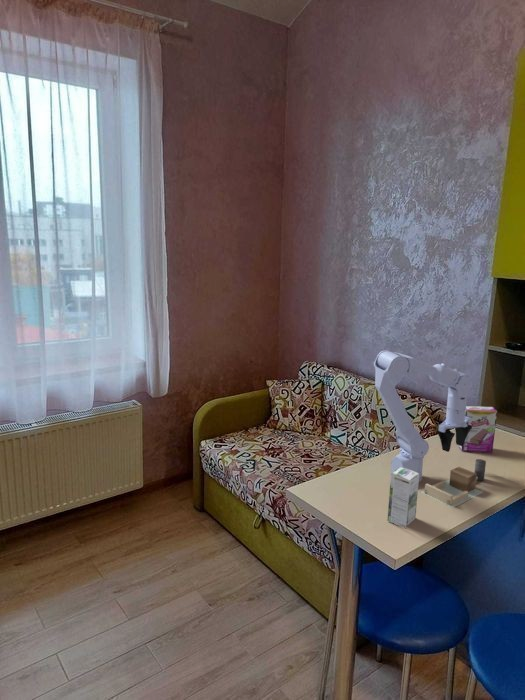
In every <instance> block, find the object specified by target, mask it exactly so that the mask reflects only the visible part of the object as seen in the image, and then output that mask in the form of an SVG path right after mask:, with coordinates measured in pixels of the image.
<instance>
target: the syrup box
mask: <svg viewBox="0 0 525 700" xmlns="http://www.w3.org/2000/svg"><path fill="white" fill-rule="evenodd" d="M419 483H420V482H419V473H417V472H414V471H412V470H409V469H406V468H401V467H400V468H399V469H398V470H396V471H395V472H394V473H392V474H391V473H390V482H389V495H388V508H387V522H388V521H389V522H388V523H391V524H393V523H394V525H396V526H399V527H402V528H404V529H406V527H408V526H409V525H410V524H411V523H412V522H413V521H414V520H415V519H416V513H417V504H418V503H417V502H418V493H419Z"/></svg>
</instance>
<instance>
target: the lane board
mask: <svg viewBox="0 0 525 700" xmlns="http://www.w3.org/2000/svg"><path fill="white" fill-rule="evenodd" d="M449 483H450V478H449V479H447V480H441V481H439V482H437V483H435V484H433V485H431V484H430V483H425V484H424V490H423V491H421V492H420V493H421V494H422V495H425V496H427V497H428V498H430V499H433V500H435V501H437V502H438V503H441V504H442V505H445V506H447V507H449V508H451V509H454V508H455V507H457V506H460V505H461V504H463V503H466V502H467V501H468V500H471V499H474V498H475V497H477V496H478V495H482V494H483V493H484V491H482V490H480V489H477V488H475V489H473V490H471V491H469V492H467V491H462V490H459V489H457V488H455V487H453V486H450V485H449Z"/></svg>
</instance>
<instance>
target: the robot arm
mask: <svg viewBox="0 0 525 700" xmlns="http://www.w3.org/2000/svg"><path fill="white" fill-rule="evenodd" d="M373 366H374V370H375V371H374V372H375V376H374V377H375V379H374V380H375V381H374V385H375V389H376V392H378V395H379V397H380V399H381V401H382V402H383V405H384V407H385V408H386V409H385V410H386V412H387V413H388V414H389V415H388V416H389V417H390V419H391V421H392V423H393V425H394V427H395V429H396V430H395V432H394V434H395V435H396V444H397V446H399V453H398V454H397V455H395V456H393V457H392V459H391V466H390V475H391V474H392V473H394V472H395V471H396V470H398V469H399V468H400V467H401V468H406V469H409V470H412V471H414V472H417V473H419V483H420V482H421V481H422V479H423V467H424V466H423V465H424V458H425V457H426V455H427V454H428V452H429V450H430V445H429V442H428V441H427V440H425V439H424V438H423V437H422V435H421V433H419V431H418V430H417V429H416V428H415V426H414V424H413V422H412V420H411V419H410V415H409V414H408V411H407V409H405V408H406V407H405V406H404V403H403V401H402V399H401V398H400V395H399V393H398V391H397V389H396V386H397V385H398V384H399V383H400V381H401V380H402V379H403V378H404V376H405V375H406V373H411V371H416V372H418V373H422V374H424V375H428V377H429V379H430V380H431V381H432V382H434V383H437V384H439V385H442V386H445V387H448V389H447V401H446V412H445V413H446V414H445V419H444V421H442V423H441V424H438V427H437V428H436V432H437V436H438V438H439V439H440V444H441V449H442V451H445V452H447V453H448V452H450V450H451V447H452V441H453V438H454V437H455V444H456V445H457V446H458V445H459V446H463V444H464V442H465V439H466V437H467V435H468V433H469V431H470V430H471V429H472V426H471V425H468V424H469V423H470V419H471V418H470V417H466V416H465V412H466V406H467V400H468V396H469V392H470V390H471V389H472V387H473V384H474V383H473V382H472V380H471V377H470V376H469V375H468V374H466V373H463V372H460V371H459V369H457V368H451V367H448V365H447V364H445V363H441V364H440V363H437V364H436V363H435V364H434V365H431V364H429V363H426V362H424V361H421V360H419V359H417V358H415V357H413V356H409V355H407V354H403V353H400V352H395V351H394V352H392V351H390V350H388V349H385V350H381V351H380V352H379V353H378V354H377V356H376V357H375V360H374V362H373ZM452 429H454V430H455V433H454V432H451V430H452ZM459 446H458V447H459Z"/></svg>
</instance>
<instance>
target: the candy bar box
mask: <svg viewBox="0 0 525 700" xmlns="http://www.w3.org/2000/svg"><path fill="white" fill-rule="evenodd" d="M465 416H466V417H470V418H471V419H470V423H469V424H468V425H471V426H472V429H471V430H470V431H469V433H468V435H467V437H466V439H465V442H464V444H463V446H459V445H457V446H458V448H459V449H460V451H461V452H471V453H473V452H475V453H493V448H494V443H495V441H494V440H495V435H496V434H495V433H496V425H497V416H498V411H497V409H495V407H493V406H478V405H477V406H475V405H466V412H465Z"/></svg>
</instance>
